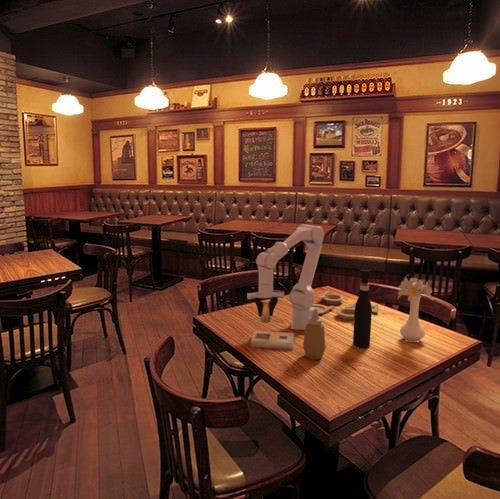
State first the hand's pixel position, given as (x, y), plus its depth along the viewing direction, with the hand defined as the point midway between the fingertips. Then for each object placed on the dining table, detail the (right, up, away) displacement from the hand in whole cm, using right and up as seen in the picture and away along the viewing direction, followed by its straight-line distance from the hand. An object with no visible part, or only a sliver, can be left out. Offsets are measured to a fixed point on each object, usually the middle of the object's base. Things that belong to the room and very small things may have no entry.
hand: (265, 315), depth 174 cm
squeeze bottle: (+17, -13, -16) cm, 27 cm away
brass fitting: (0, -2, 0) cm, 2 cm away
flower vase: (+58, -10, 0) cm, 59 cm away
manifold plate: (+3, -10, -4) cm, 11 cm away
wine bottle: (+37, -11, -6) cm, 39 cm away
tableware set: (+37, -3, +36) cm, 52 cm away
